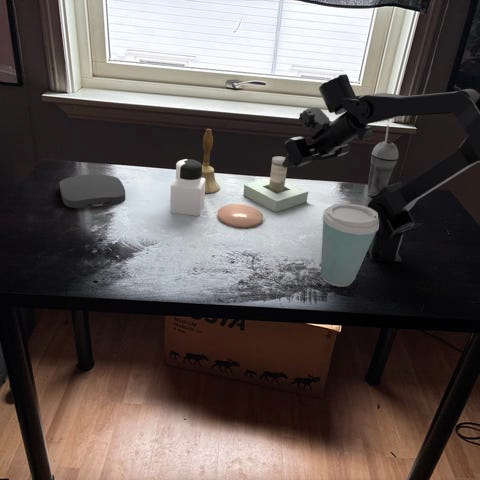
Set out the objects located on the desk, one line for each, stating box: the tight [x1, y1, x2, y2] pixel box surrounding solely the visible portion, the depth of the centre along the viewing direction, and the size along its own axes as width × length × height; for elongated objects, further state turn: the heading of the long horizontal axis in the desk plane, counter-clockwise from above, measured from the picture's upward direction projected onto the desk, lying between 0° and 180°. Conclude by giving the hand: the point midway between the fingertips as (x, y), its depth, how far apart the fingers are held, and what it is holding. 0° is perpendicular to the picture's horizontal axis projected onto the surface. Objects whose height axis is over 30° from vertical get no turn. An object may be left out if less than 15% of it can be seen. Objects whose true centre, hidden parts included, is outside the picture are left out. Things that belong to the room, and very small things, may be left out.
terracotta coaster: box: [217, 203, 264, 229], centre depth 114 cm, size 11×11×1 cm
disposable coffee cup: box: [320, 202, 379, 288], centre depth 91 cm, size 11×11×15 cm
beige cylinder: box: [269, 155, 288, 194], centre depth 123 cm, size 4×4×11 cm
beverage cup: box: [366, 124, 399, 197], centre depth 129 cm, size 7×7×20 cm
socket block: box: [242, 177, 309, 213], centre depth 125 cm, size 12×12×3 cm
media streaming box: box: [58, 173, 126, 209], centre depth 117 cm, size 15×15×3 cm
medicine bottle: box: [169, 158, 206, 217], centre depth 112 cm, size 7×7×12 cm
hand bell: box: [202, 128, 221, 194], centre depth 124 cm, size 8×8×16 cm
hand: (296, 162), depth 117 cm, fingers open, 9 cm apart
